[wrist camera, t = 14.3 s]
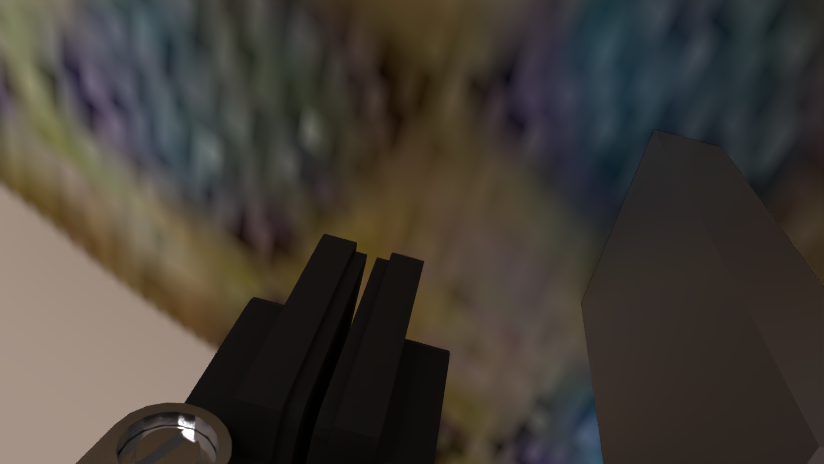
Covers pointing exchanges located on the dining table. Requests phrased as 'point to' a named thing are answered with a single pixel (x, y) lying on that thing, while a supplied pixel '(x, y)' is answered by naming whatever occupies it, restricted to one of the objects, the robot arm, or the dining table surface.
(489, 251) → the dining table surface
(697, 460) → the domino
